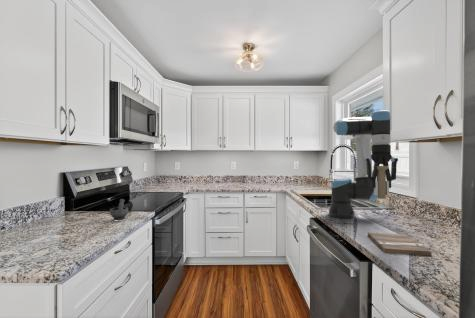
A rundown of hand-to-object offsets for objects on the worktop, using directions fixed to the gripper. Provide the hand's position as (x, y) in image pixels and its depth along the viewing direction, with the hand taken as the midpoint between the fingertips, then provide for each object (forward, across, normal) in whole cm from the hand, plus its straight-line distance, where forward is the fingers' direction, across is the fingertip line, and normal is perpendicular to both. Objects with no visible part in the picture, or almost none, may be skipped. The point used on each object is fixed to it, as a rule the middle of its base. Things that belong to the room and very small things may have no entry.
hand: (381, 194), depth 110 cm
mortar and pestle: (+20, -142, +3) cm, 144 cm away
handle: (+2, 0, 0) cm, 2 cm away
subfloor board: (+20, +3, -8) cm, 22 cm away
